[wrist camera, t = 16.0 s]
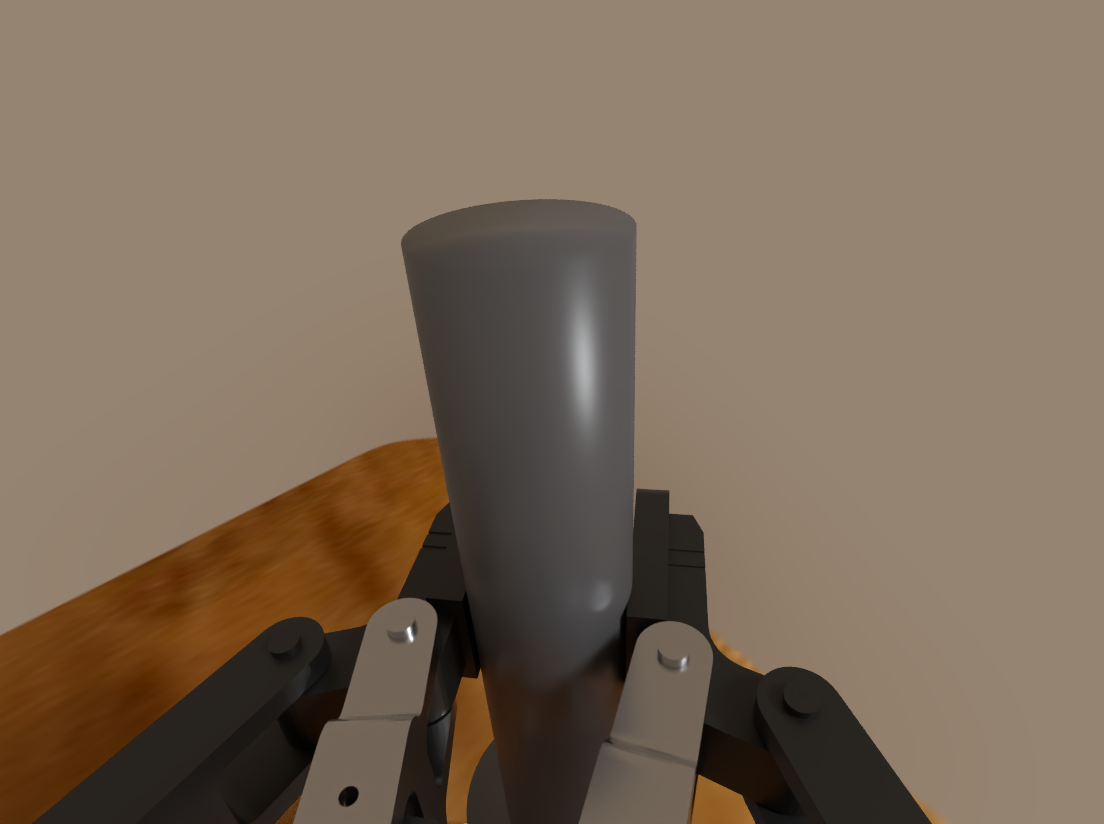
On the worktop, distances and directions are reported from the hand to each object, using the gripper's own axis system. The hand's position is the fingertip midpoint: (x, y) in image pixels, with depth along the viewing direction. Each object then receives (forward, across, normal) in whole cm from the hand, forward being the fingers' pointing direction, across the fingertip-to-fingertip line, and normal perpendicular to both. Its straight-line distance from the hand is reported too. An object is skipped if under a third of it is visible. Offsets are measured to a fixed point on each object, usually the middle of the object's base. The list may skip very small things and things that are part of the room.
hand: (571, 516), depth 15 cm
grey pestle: (-3, 0, +11) cm, 11 cm away
